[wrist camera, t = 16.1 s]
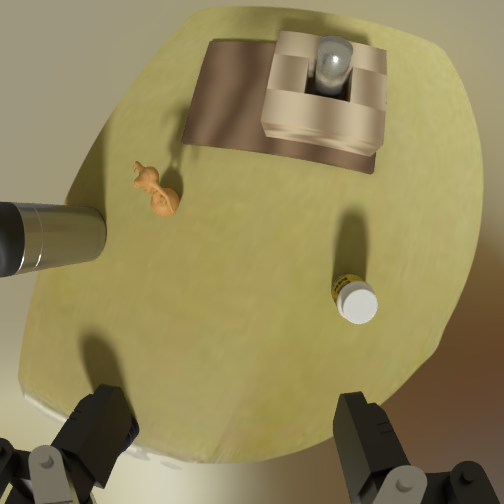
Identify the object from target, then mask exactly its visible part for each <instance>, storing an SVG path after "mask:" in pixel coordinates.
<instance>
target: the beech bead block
mask: <svg viewBox="0 0 504 504" xmlns="http://www.w3.org/2000/svg"><path fill="white" fill-rule="evenodd" d="M323 37H325V36H320V35H314V34H307V33H299V32H290V31H280V30H279V34H278V38H277V43H276V48H275V52H274V57H273V62H272V66H271V71H270V76H269V81H268V86H267V91H266V95H265V100H264V105H263V110H262V115H261V123H262V126H263V129H264V132H265V135H266V137H273V138H280V139H286V140H293V141H298V142H304V143H310V144H315V145H320V146H325V147H330V148H335V149H339V150H344V151H348V152H353V153H357V154H361V155H365V156H369V157H371V156H372V155H373V154H374V153H375V152H376V151H377V150H378V149H379V148H380V147H381V146H382V145H383V141H384V128H385V112H386V82H387V59H386V50H383V49H379V48H376V47H372V46H368V45H364V44H360V43H356V42H351V41H349V42H350V43H351V45H352V47H353V55H352V58H351V61H350V65H349V68H348V71H347V75H346V78H345V81H344V84H343V87H346V95H345V101H342V100H337V99H332V98H327V97H322V96H317V95H311V94H306V91H307V85H308V80H309V81H315V76H316V66H317V56H318V45H319V41H320V40H321V39H322V38H323Z"/></svg>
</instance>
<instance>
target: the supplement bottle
mask: <svg viewBox="0 0 504 504" xmlns="http://www.w3.org/2000/svg"><path fill="white" fill-rule="evenodd" d="M332 297H333V300H334V302H335V304H336V306H337V309H338V311H339V312H340V314H341V315H342V316H343V317H344V318H346V319H348V320H349V321H350V322H352V323H355V324H363V323H366V322H368V321H369V320H371V319H372V318H373V317H374V315H375V313H376V311H377V307H378V302H377V298H376V296H375V293H374V291H373V289H372V287H371V286H370V285H369V284H367V283H366V282H365V281H364V280H363V279H361V278H360V277H359V276H357V275H355V274H352V273H347V274H343V275H341V276H339V277H338V278H337V279H336V280H335V282H334V283H333V286H332Z"/></svg>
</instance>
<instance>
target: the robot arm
mask: <svg viewBox="0 0 504 504" xmlns="http://www.w3.org/2000/svg"><path fill="white" fill-rule="evenodd" d="M105 241H106V228H105V224H104V220H103V218H102V216H101V215H100V213H99V212H98V211H97V210H95V209H93V208H91V207H81V206H68V205H53V204H52V205H51V204H36V203H15V202H0V277H7V276H12V275H17V274H22V273H27V272H32V271H37V270H43V269H48V268H54V267H60V266H65V265H71V264H77V263H83V262H88V261H92V260H94V259H96V258H97V257H98V256H99V255H100V254H101V252H102V250H103V248H104V245H105ZM131 422H132V418H131V413H130V410H129V408H128V405H127V403H126V400H125V397H124V394H123V391H122V389H121V388H120V387H116V386H111V385H106V384H101V385H99V387H98V388H97V390H96V391H95V393H94V394H89V395H87V396H86V397H85V398H83V399H82V400H80V402H79V403H78V405H77V406H76V407H75V409H74V412H72V413H71V415H70V416H69V419H67V421H66V422H65V424H64V425H63V427H62V428H61V430H60V432H59V433H58V435H57V436H56V438H55V439H54V441H53V442H52V444H51V445H50V446H49V445H43V446H39V447H37V448H35V449H34V450H33V451H32V452H29V451H22V450H16V449H14V447H13V446H12V445H11V444H10V442H9V441H8V440H6V439H4V438H0V499H1V497H2V495H3V493H4V491H5V489H6V487H7V485H8V483H10V484H11V485H12V486H13V487H12V489H11V491H10V493H9V496H8V497H7V500H6V502H5V504H97V503H96V501H95V498H94V495H93V493H92V492H91V490H92V488H93V486H96V487H99V488H102V489H104V488H105V486H106V483H107V481H108V479H109V476H110V474H111V471H112V469H113V467H114V464H115V462H116V460H117V457H118V455H119V453H120V450H121V448H122V446H123V443H124V441H125V439H126V437H127V434H128V432H129V430H130V427H131ZM333 435H334V438H335V442H336V446H337V450H338V454H339V458H340V462H341V465H342V469H343V473H344V477H345V481H346V485H347V489H348V493H349V497H350V502H351V504H354V503H358V502H361V504H500V502H499V500H498V498H497V496H496V494H495V492H494V489H493V487H492V486H491V483H490V481H489V479H488V477H487V475H486V473H485V471H484V469H483V468H482V467H481V465H479V464H478V463H476V462H473V461H464V462H461V463H459V464H457V465H456V466H455V467H454V468H453V470H452V471H450V472H441V473H424V472H423V471H422V470H421V469H419V468H417V467H414V466H411V464H410V463H409V461H408V459H407V457H406V455H405V453H404V451H403V449H402V446H401V444H400V442H399V440H398V438H397V436H396V433H395V432H394V429H393V428H392V425H391V423H390V421H389V419H388V417H387V415H386V413H385V411H384V410H383V409H382V408H381V407H380V406H378V405H377V404H376V403H370V404H367V401H366V399H365V397H364V395H363V393H362V392H361V391H359V392H352V393H344V394H340V396H339V400H338V404H337V408H336V412H335V416H334V420H333Z"/></svg>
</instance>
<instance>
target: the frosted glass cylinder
mask: <svg viewBox="0 0 504 504" xmlns="http://www.w3.org/2000/svg"><path fill="white" fill-rule="evenodd" d="M352 55H353V47H352V45H351V43H350V42H349V41H348V40H346V39H345V38H343V37H340V36H337V35H328V36H325V37H323V38H322V39H321V40H320V41H319V45H318V56H317V66H316V76H315V85H314V94H313V95H317V96H322V97H327V98H332V99H337V100H339V97H340V94H341V91H342V88H343V84H344V81H345V78H346V75H347V71H348V68H349V65H350V61H351V58H352Z"/></svg>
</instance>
